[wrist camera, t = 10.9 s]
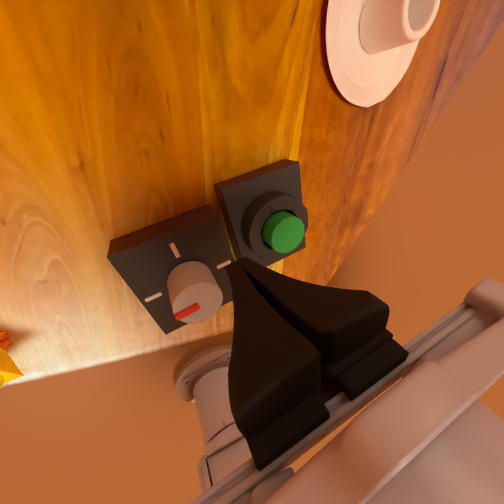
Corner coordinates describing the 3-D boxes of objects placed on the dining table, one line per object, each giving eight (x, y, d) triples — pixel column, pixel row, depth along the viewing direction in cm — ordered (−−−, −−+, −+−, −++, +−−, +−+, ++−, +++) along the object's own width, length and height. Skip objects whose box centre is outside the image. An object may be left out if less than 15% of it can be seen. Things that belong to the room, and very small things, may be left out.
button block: (295, 240, 27) (315, 254, 24) (239, 266, 25) (254, 285, 22) (286, 158, 22) (311, 163, 19) (213, 184, 20) (228, 195, 17)
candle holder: (373, 126, 25) (411, 126, 21) (298, 65, 18) (335, 50, 15) (437, -6, 21) (496, -33, 17) (370, -144, 14) (443, -228, 11)
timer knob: (202, 253, 19) (215, 276, 16) (216, 285, 21) (230, 310, 18) (158, 273, 18) (163, 302, 15) (178, 304, 20) (185, 334, 17)
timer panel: (235, 279, 26) (245, 294, 24) (162, 314, 24) (166, 336, 21) (208, 203, 20) (219, 213, 18) (110, 240, 18) (106, 258, 16)
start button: (295, 237, 22) (306, 244, 21) (265, 251, 21) (274, 259, 20) (291, 205, 20) (303, 210, 19) (258, 219, 19) (268, 226, 18)
